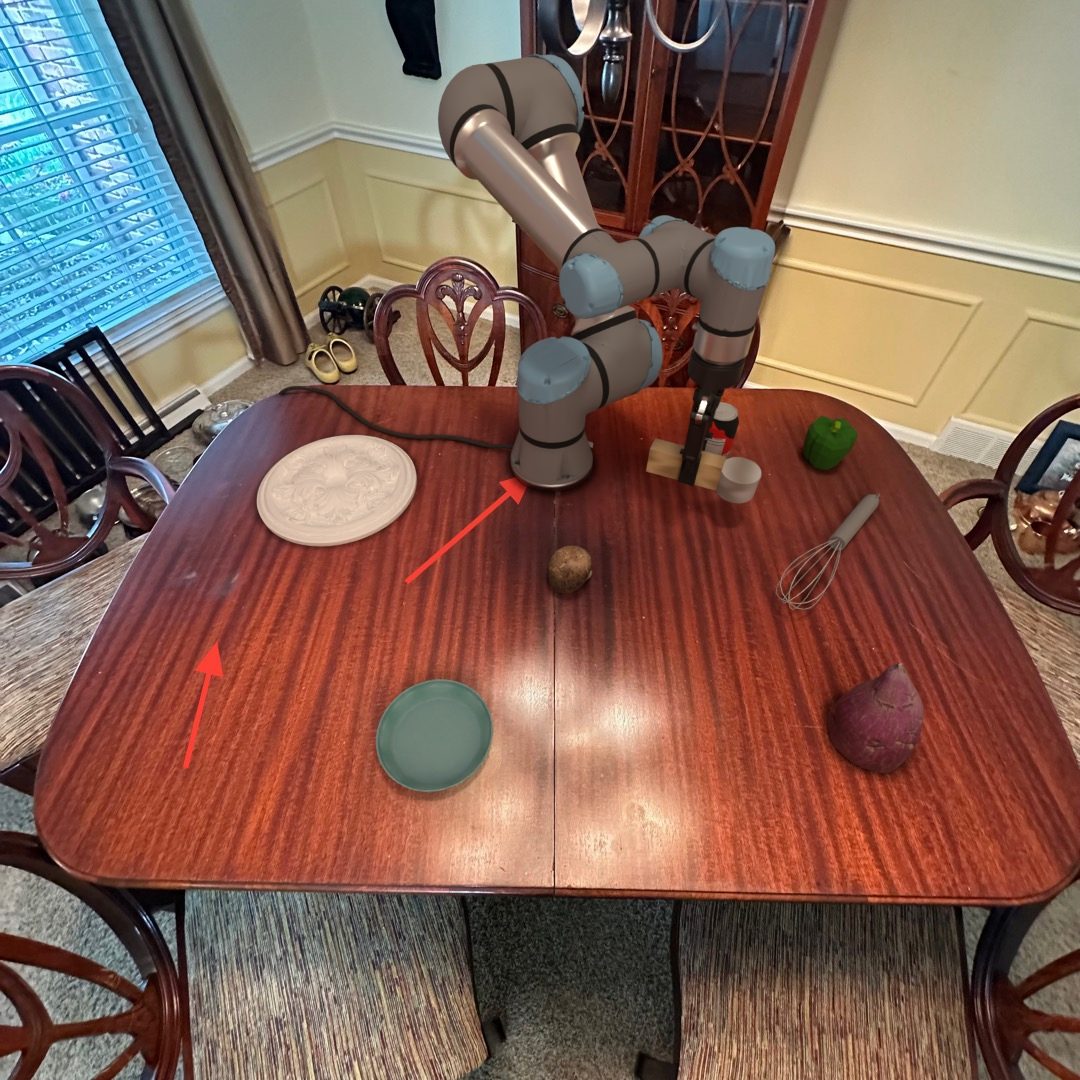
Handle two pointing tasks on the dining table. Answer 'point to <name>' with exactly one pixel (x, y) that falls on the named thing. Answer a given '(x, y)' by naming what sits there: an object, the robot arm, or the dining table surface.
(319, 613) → the dining table surface
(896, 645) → the dining table surface
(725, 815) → the dining table surface
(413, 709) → the saucer
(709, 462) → the scoop
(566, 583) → the mushroom
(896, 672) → the vegetable
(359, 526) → the ceiling medallion
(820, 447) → the bell pepper
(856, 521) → the kitchen whisk
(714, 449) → the beverage can
